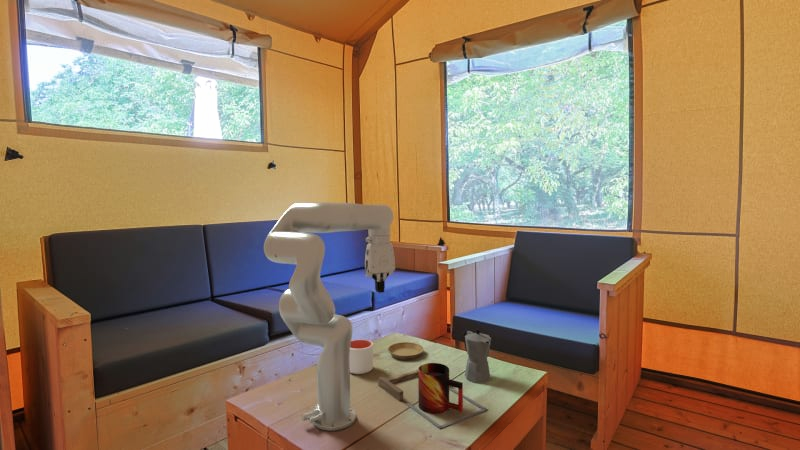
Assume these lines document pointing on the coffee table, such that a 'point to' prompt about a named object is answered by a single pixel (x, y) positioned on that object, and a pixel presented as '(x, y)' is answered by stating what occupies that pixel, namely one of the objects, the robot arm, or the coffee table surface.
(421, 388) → the mug
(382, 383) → the frame
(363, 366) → the cup
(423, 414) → the frame
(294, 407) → the coffee table surface
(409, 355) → the plant saucer
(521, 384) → the coffee table surface
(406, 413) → the coffee table surface
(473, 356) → the coffeepot
